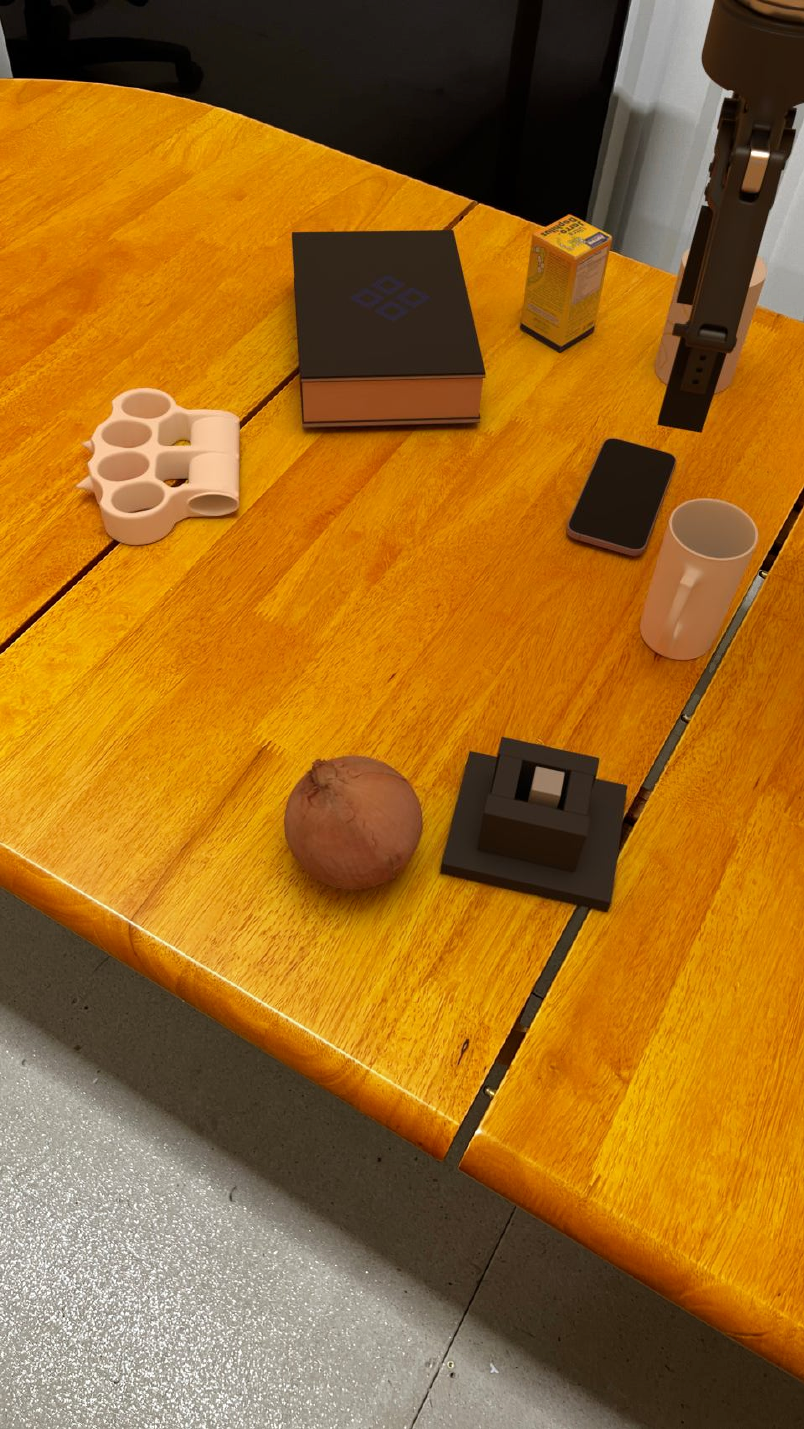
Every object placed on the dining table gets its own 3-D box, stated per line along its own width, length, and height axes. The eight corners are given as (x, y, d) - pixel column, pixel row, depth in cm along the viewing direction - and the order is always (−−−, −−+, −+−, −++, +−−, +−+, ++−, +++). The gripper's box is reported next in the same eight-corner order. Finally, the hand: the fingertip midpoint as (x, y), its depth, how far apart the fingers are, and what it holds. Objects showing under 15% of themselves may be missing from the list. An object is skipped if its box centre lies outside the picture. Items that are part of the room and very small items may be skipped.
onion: (303, 864, 81) (240, 775, 75) (408, 794, 83) (354, 700, 76) (352, 945, 74) (286, 853, 68) (466, 866, 75) (412, 769, 69)
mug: (653, 592, 96) (687, 487, 86) (727, 622, 94) (769, 517, 84) (609, 669, 90) (640, 566, 81) (686, 702, 88) (727, 600, 79)
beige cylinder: (650, 345, 118) (677, 239, 108) (726, 350, 118) (760, 244, 108) (658, 392, 113) (687, 286, 103) (737, 397, 113) (773, 291, 103)
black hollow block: (587, 796, 81) (599, 757, 77) (574, 873, 77) (586, 836, 73) (494, 775, 82) (501, 735, 78) (476, 850, 78) (483, 812, 74)
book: (302, 435, 106) (299, 376, 101) (293, 288, 121) (291, 231, 116) (479, 429, 108) (486, 372, 103) (449, 286, 123) (453, 229, 118)
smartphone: (679, 455, 106) (643, 553, 97) (676, 464, 107) (640, 562, 98) (606, 435, 107) (564, 529, 98) (603, 444, 108) (562, 539, 99)
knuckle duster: (240, 543, 97) (71, 548, 96) (240, 414, 108) (89, 417, 107) (237, 514, 95) (63, 519, 93) (238, 385, 105) (82, 388, 104)
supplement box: (553, 308, 121) (569, 212, 112) (595, 332, 119) (614, 236, 110) (517, 329, 119) (530, 232, 110) (559, 354, 116) (576, 257, 107)
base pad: (623, 796, 83) (643, 741, 77) (607, 912, 77) (627, 862, 71) (467, 761, 84) (476, 706, 78) (439, 873, 78) (446, 822, 72)
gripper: (732, -102, 62) (650, 251, 79) (700, 89, 47) (607, 473, 64) (868, -84, 61) (755, 268, 78) (878, 115, 46) (736, 497, 63)
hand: (688, 361), depth 71 cm, fingers open, 13 cm apart
